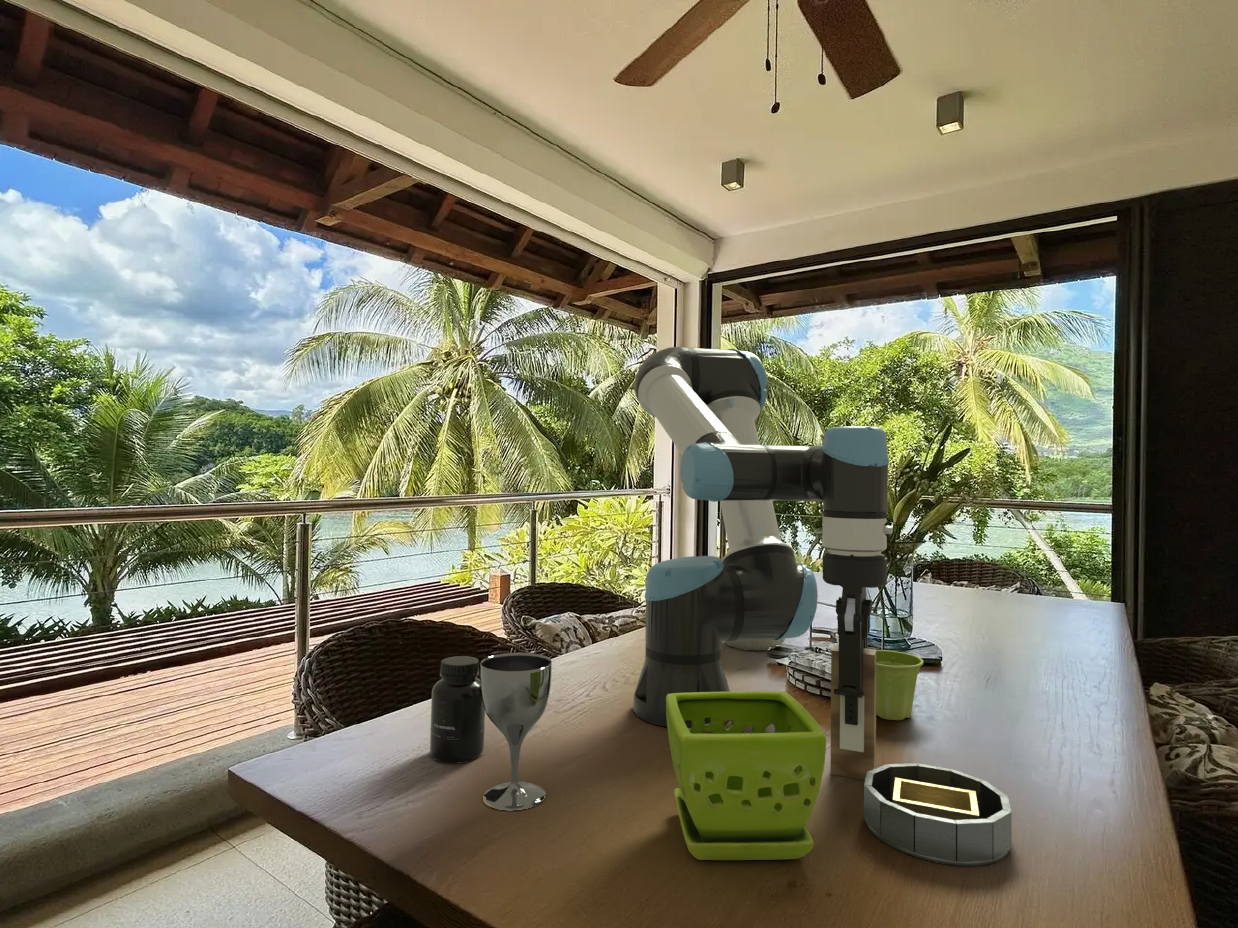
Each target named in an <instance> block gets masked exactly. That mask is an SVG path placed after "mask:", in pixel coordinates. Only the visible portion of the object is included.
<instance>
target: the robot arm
mask: <svg viewBox="0 0 1238 928" xmlns="http://www.w3.org/2000/svg"><path fill="white" fill-rule="evenodd" d="M767 386H768V377H767V372H766V368H765V366H764V364H763V362H762V361H761V359H760V358H759V356H757V355H756V354H754V353H753V352H751V351H745V350H739V349H735V348H728V349H715V348H701V347H686V346H671V347H666V348H663V349H660V350H659V351H656V352H655V353H653V354H651V355H650V356H649V357H648V358H646V359H645V360H644V362H642V364H640V367H639V369H638V370H637V373H636V375H635V378H634V393H635V396H636V401H638V404H640V406H641V408H642V410H644V411H645V413H647V414H648V415H649V416H651V417H653V418H656V420H657V421H658V422H659V424H660V425H661V427H662V428H663V429H664V431H665V433H666V434H667V435H668V438H670V440H671V441H672V443H673V444H674V445H675V447H676V449H677V451H679V453H680V454H681V455H682V456H681V459H680V472H679V473H680V474H679V475H680V481H681V482H682V483H681V484H682V489H683V491H684V494H685V495H686V496H687V497H688V498H690V499H692V500H699V501H709V502H720V507H721V512H722V518H723V523H724V529H725V534H726V540H727V545H728V551H727V552H726V554H725V555H724V556H723V557H722V559H721V558H720V557H718V556H714V555H699V556H695V555H693V556H683V557H677V558H671V559H666V560H663V561H660V562H657V563H655V564H653V565H652V566H651V567H650V568H649V570H648V571H647V575H646V584H645V593H644V599H645V652H644V653H645V654H644V655H645V657H644V663H643V667H642V669H641V672H640V675H639V679H638V681H637V684H636V687H635V690H634V694H633V698H632V701H633V702H632V704H633V705H632V707H633V709H632V710H634V711H633V713H634V712H635V713H634V715H635V714H636V715H637V716H636V717H637V718H639V717H640V718H639V719H640V720H642V719H643V720H642V721H644V720H645V722H647V723H650V724H653V725H657V726H661V727H667V718H666V696H667V695H668V694H672V693H690V692H731V691H730V686H729V684H728V680H727V677H726V673H725V670H724V667H723V664H722V647H723V646H722V645H723V643H725V642H726V641H748V640H772V639H773V640H776V641H778V640H781V639H792V638H799V637H802V636H803V635H804V634H805V633H807V631H808V630H809V629H810V628H811V626H812V624H813V622H814V620H815V615H816V613H817V609H818V584H817V579H816V576H815V574H814V572H813V570H812V569H811V568H810V567H809V566H808V565H806V564H804V563H802V562H796V558H795V554H794V553H795V552H794V550H793V547H791V545H789V544H787V543H785V542H784V541H782V538H781V534H780V529H779V525H778V521H777V516H776V512H775V508H774V503H773V502H774V501H775V502H776V501H779V502H782V501H783V502H784V501H785V502H795V501H797V502H822V503H823V504H822V505H823V506H822V509H823V512H822V513H823V514H822V531H821V532H822V535H821V536H822V542H821V544H822V546H821V547H823V548H824V549H826V552H824V554H823V555H822V580H823V581H824V582H825V583H826V584H829V585H832V586H839V587H841V588H842V591H841V596H838V599H835V600H836V601H835V613H836V614H837V616H836V620H837V636H838V646H839V686H838V689H834V694H835V695H840V749H846V750H852V751H858V752H864V696H863V695H864V691H863V648H866V649H869V647H868V643H869V642H868V641H869V639H868V637H869V634H870V629H871V613H872V609H873V599H872V598H868V597H867V588H869V589H874V588H881V587H884V586H886V584H887V583H888V557H886V555H885V554H882V552H884V551H885V550H886V549H887V547H888V544H887V543H888V542H887V541H888V540H887V539H888V538H887V536H886V535H891V534H892V533H893V531H894V529H893V527H892V526H891V525H885V524H886V523H888V520H887V518H888V497H889V496H888V493H889V492H888V491H889V489H888V487H889V485H888V484H889V463H890V459H889V457H890V456H889V455H888V442H887V441H888V439H887V437H888V436H887V433H886V432H885V430H884V429H882V428H881V427H877V426H868V425H867V426H866V425H865V426H864V425H850V426H849V425H848V426H847V425H844V426H833V427H829V428H828V429H826V431H825V432H824V435H823V440H822V441H823V442H822V445H784V444H783V445H775V444H774V445H773V444H770V445H769V444H760V440H759V435H758V431H757V426H756V422H755V421H756V420H757V418H758V417H759V415H761V410H762V409H763V407H764V406H765V403H766V401H767V398H768V397H767V396H768V389H767ZM709 723H710V718H706V719H705V724H709ZM685 724H686V726H687V728H688V729H690V728H691V725H692V724H691V721H690V720H687V721H685Z"/></svg>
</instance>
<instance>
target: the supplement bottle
mask: <svg viewBox="0 0 1238 928" xmlns="http://www.w3.org/2000/svg"><path fill="white" fill-rule="evenodd" d="M479 665H480V662H479V659H478V658H476V657H474V656H467V655H466V656H465V655H461V656H460V655H457V656H451V657H446V658H443V659H441V661H440V671H439V677H441V679H439V680H438V681H436V683H434V685H433V687H432V689H431V702H430V703H431V706H430V707H431V708H430V709H431V711H430V735H429V736H430V737H429V738H430V739H429V753H430V755H431V757H432V758H433V759H434V760H435V759H436V760H435V761H437V760H438V762H440V761H441V763H444V762H447V763H446V764H460V763H459V762H463V763H466V762H465V761H468V762H471V761H474V760H475V758H476V759H477V758H479V757H480V756H481V755H482V754H483V752H484V749H485V730H486V729H485V728H486V727H485V725H486V723H485V722H486V711H485V708H484V704H483V700H482V694H481V685H480V678H478V676H480V668H479V667H480V666H479ZM473 759H474V760H473ZM470 760H471V761H470Z"/></svg>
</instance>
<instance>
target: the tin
mask: <svg viewBox="0 0 1238 928" xmlns="http://www.w3.org/2000/svg"><path fill="white" fill-rule="evenodd" d="M863 787H864V788H863V820H864V821H865V825H866V826H867V829H869V831H870V832H871V833H872V835H874V836H875V837H876V838H877V839H878V840H880V841H881V842H882V841H883V843H884V844H886V845H887V846H889V847H891V848H892V849H894V848H895V849H894V850H896V851H898V850H899V851H898V852H901V853H903V854H905V855H907V856H908V855H909V856H910V855H911V856H910V857H913V856H914V858H916V859H920V860H923V859H924V860H923V861H926V860H928V861H927V862H930V861H933V862H932V863H934V862H938V863H937V864H940V863H942V864H941V865H945V864H947V865H946V866H953V865H954V867H981V866H982V867H983V866H988V865H992V864H995V863H998V862H1001V861H1002V860H1003V859H1005V858H1006V857H1007V856H1008V854H1009V852H1010V850H1011V849H1012V809H1011V808H1012V807H1011V805H1010V801H1009V796H1008V795H1007V794H1005V793H1004V792H1003V791H1001V790H999V789H998V788H997V787H995V786H994V785H992V784H990V783H989V782H988V781H987V780H985V779H981V778H978V777H976V776H972V775H970V774H968V773H965V772H962V771H958V770H955V769H952V768H947V767H942V766H935V765H930V764H925V763H924V764H923V763H917V762H916V763H890V764H889V763H886V764H884V765H881V766H878V767H876V769H873V770H871V771H868V772H867V773H866V778H865V780H864V784H863Z"/></svg>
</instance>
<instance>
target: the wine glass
mask: <svg viewBox="0 0 1238 928" xmlns="http://www.w3.org/2000/svg"><path fill="white" fill-rule="evenodd" d="M552 661H553V660H552V659H551V658H550V657H549V656H546V655H544V654H539V653H533V652H532V653H531V652H507V653H500V654H494V655H491V656H487V657H485V658H483V659H482V660H481V662H480V663H479V665H480V666H479V667H480V668H479V676H480V677H479V679H480V685H481V694H482V700H483V704H484V708H485V715H486V716H487V717H488V718H489V721H491V722H492V724H493V725H494V726H495V727H496V728H497V729H498V730H499V732H500V733H501V734H502V735H503V737H504V739H505V741H506V742H507V745H508V748H509V749H508V750H509V756H510V768H511V769H510V770H511V773H510V774H511V775H510V781H508V782H502V783H500V784H496V785H494V786H492V788H491V787H490V789H489V788H488V789H486V790H485V791H484V793H485V794H484V793H483V794H484V795H483V794H482V796H485V797H486V802H487V803H489V804H490V805H491V806H493V807H494V808H496V809H499V810H498V811H500V810H501V809H502V810H507V811H506V812H514V811H513V810H518V809H527V810H529V809H528V808H530V809H532V808H531V807H532V806H535V805H537V804H539V803H540V802H541V801H542V800H543V799H544V796H546V797H547V792H546V790H545V789H544V787H542V786H540V785H538V784H536V785H535V783H533V784H532V782H528V781H527V782H528V783H527V782H526V781H519V766H520V765H519V763H520V755H521V748H522V746H523V742H524V740H525V739H526V736H527V735H528V734H529V733H530V731H531V730H532V729H533V728H534V727H535V725H536V724H537V723H538V722H539V721H540V719H541V718H542V717H543V715H544V714H545V712H546V709H547V706H548V702H549V700H550V699H549V698H550V692H551V686H552V677H553V675H552V672H553V670H552V667H553V665H552ZM539 805H540V804H539ZM491 806H490V807H491ZM537 806H538V805H537ZM490 807H489V808H490ZM535 807H536V806H535Z"/></svg>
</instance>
